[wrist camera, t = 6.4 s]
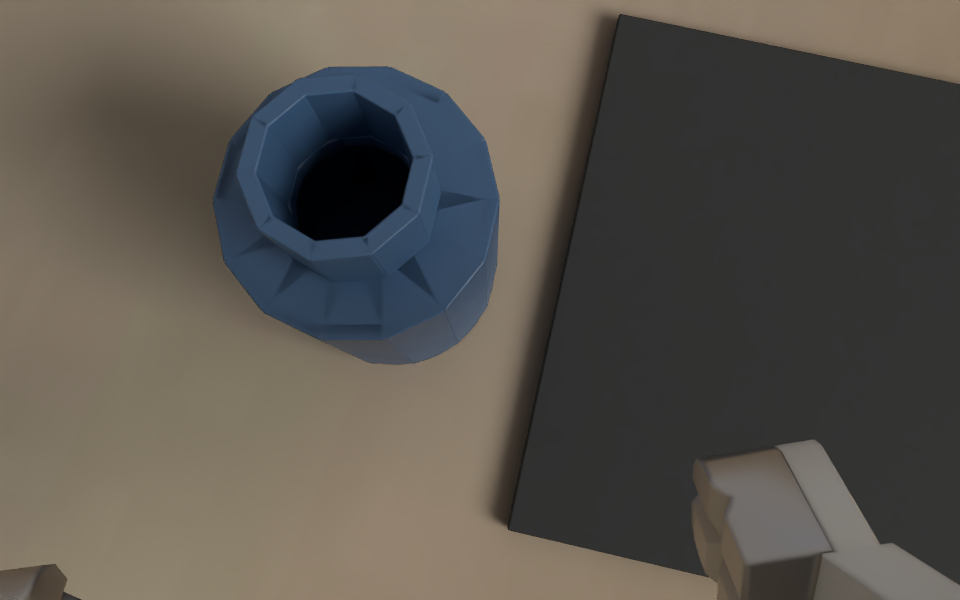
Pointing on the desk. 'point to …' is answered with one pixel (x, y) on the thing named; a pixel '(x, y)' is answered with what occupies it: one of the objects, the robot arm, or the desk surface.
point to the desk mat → (753, 295)
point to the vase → (362, 213)
